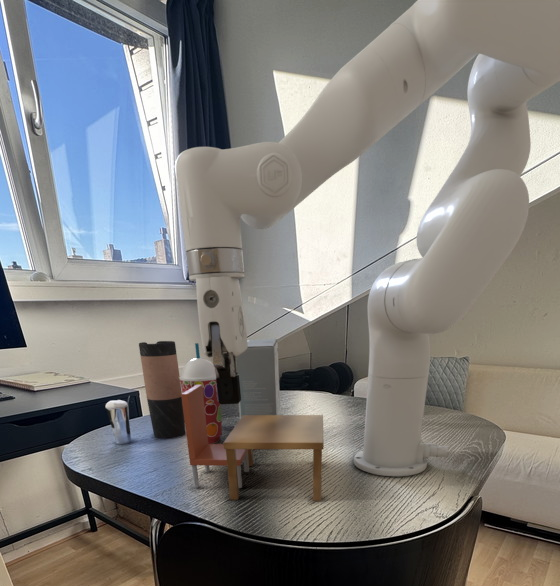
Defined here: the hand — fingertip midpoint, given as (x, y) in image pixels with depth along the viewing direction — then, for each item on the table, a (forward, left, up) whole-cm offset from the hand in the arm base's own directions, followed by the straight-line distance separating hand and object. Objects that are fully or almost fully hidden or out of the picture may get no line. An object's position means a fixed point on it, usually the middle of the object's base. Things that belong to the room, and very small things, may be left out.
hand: (230, 402), depth 63 cm
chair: (+2, 0, -13) cm, 13 cm away
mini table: (-7, 0, -13) cm, 15 cm away
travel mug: (+21, -27, -13) cm, 36 cm away
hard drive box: (-1, -24, -13) cm, 27 cm away
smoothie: (+11, -22, -13) cm, 28 cm away
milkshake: (+29, -21, -13) cm, 38 cm away
